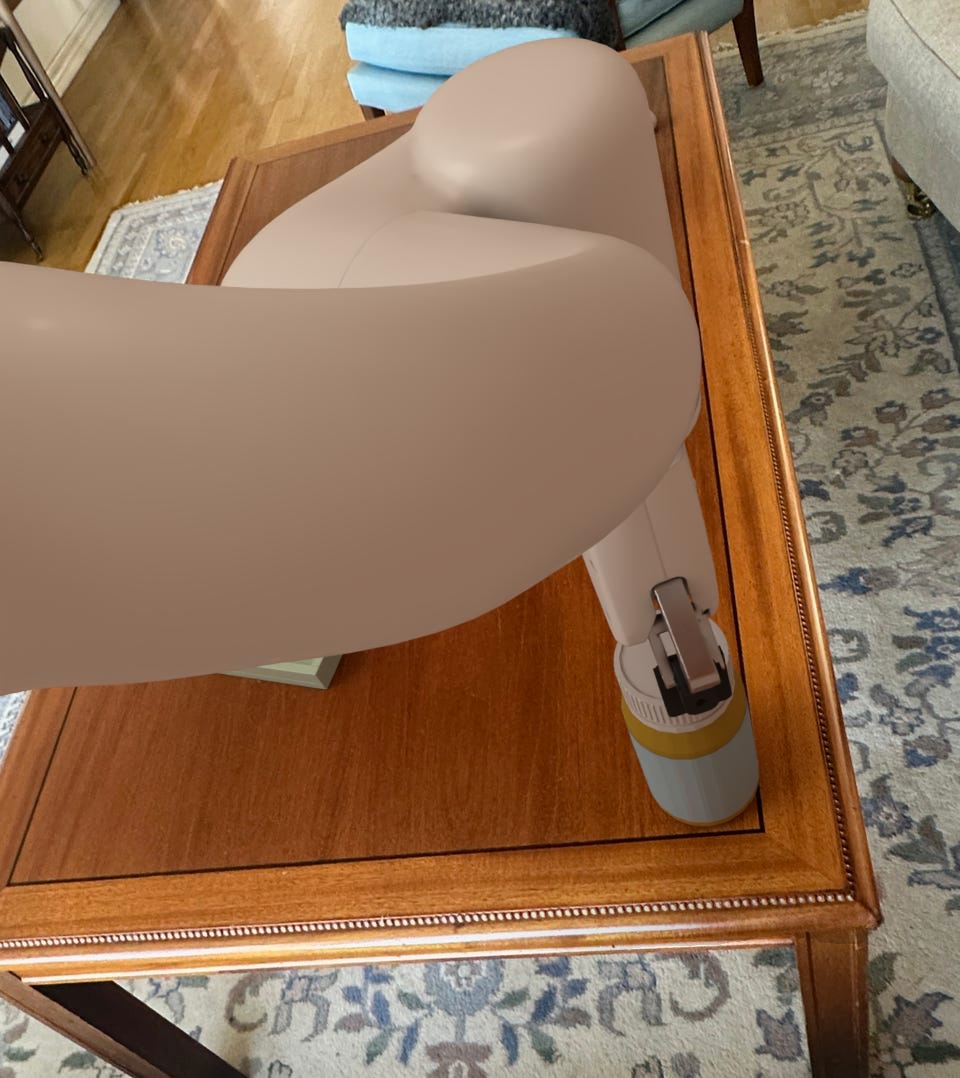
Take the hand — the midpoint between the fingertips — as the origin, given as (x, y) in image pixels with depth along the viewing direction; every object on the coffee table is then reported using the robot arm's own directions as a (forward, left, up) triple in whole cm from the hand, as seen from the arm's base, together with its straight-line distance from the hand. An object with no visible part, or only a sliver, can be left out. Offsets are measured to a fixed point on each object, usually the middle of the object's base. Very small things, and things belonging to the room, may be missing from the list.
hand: (666, 625), depth 51 cm
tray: (+11, +37, -17) cm, 42 cm away
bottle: (0, 0, -18) cm, 18 cm away
